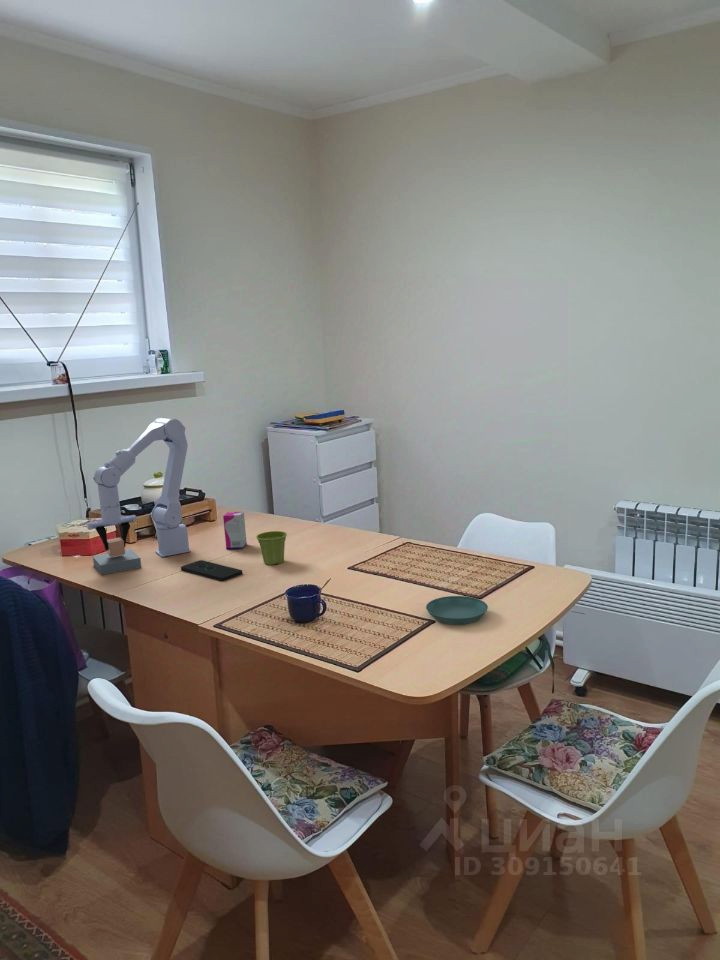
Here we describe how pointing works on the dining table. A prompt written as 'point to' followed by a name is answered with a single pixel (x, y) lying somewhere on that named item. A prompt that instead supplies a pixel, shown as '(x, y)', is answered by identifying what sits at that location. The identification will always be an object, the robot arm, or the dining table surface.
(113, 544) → the pale pink cube
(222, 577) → the smart home device
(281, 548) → the plant pot
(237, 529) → the supplement box
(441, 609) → the saucer
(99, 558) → the base board
